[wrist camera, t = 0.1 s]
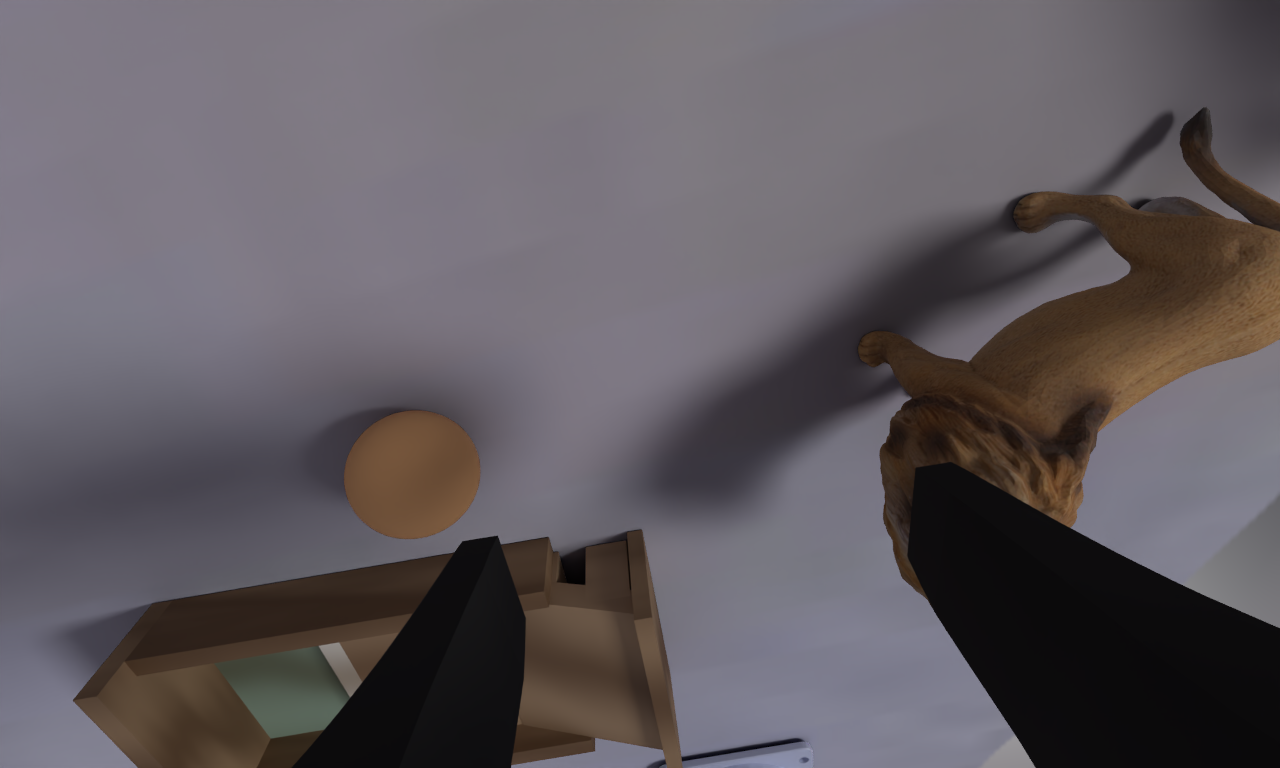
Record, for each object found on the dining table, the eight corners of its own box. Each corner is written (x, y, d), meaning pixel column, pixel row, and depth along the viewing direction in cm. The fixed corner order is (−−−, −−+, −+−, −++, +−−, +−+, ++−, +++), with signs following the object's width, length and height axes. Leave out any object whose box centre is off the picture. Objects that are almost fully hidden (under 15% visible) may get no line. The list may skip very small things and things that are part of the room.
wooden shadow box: (671, 679, 27) (683, 774, 24) (263, 747, 27) (212, 852, 24) (640, 521, 23) (650, 608, 19) (152, 603, 23) (67, 706, 19)
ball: (502, 475, 21) (484, 555, 18) (393, 493, 21) (353, 577, 18) (470, 378, 19) (444, 446, 16) (351, 398, 19) (298, 471, 16)
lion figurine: (874, 484, 23) (1025, 702, 15) (776, 417, 21) (888, 624, 13) (1227, 162, 18) (1729, 233, 10) (1138, 40, 16) (1661, 9, 8)
